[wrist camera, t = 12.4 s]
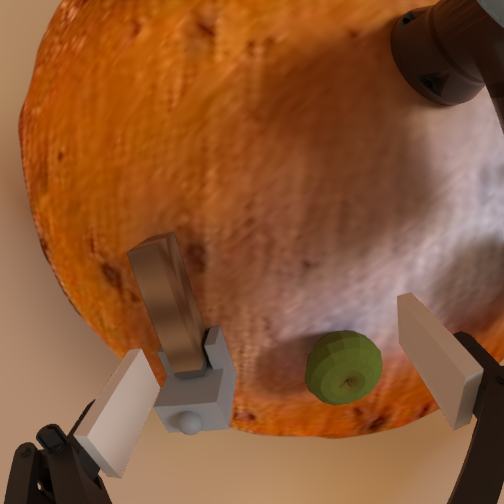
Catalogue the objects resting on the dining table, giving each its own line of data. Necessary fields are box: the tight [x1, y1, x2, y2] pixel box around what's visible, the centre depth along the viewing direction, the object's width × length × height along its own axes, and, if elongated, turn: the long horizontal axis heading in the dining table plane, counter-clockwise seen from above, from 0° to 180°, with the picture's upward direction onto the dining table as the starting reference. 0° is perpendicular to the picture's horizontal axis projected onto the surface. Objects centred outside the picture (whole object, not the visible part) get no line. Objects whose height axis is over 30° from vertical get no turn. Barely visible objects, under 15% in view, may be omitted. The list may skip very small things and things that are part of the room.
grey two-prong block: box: [154, 326, 237, 435], centre depth 39 cm, size 9×8×14 cm
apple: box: [305, 330, 382, 405], centre depth 40 cm, size 11×10×10 cm
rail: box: [127, 232, 209, 378], centre depth 40 cm, size 18×4×7 cm, turn 14°
